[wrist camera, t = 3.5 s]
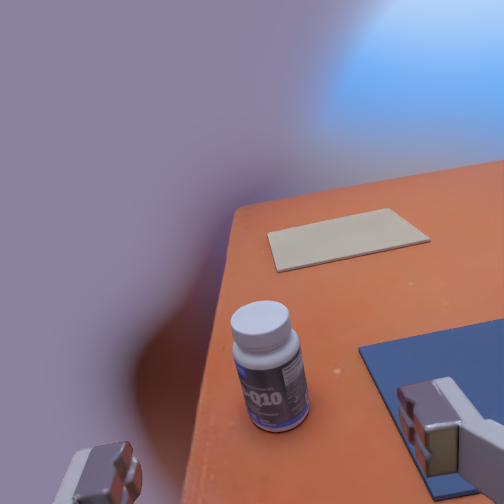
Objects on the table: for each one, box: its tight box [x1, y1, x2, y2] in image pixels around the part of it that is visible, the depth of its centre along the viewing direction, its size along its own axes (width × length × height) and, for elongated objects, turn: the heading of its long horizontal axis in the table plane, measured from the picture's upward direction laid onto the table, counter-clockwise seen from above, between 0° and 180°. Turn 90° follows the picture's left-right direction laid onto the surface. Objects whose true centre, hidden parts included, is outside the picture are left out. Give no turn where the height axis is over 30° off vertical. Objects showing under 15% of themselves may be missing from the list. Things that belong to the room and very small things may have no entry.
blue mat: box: [358, 319, 504, 501], centre depth 26 cm, size 16×13×1 cm
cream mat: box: [267, 208, 431, 273], centre depth 55 cm, size 20×14×1 cm
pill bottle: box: [231, 301, 310, 432], centre depth 27 cm, size 5×5×8 cm
